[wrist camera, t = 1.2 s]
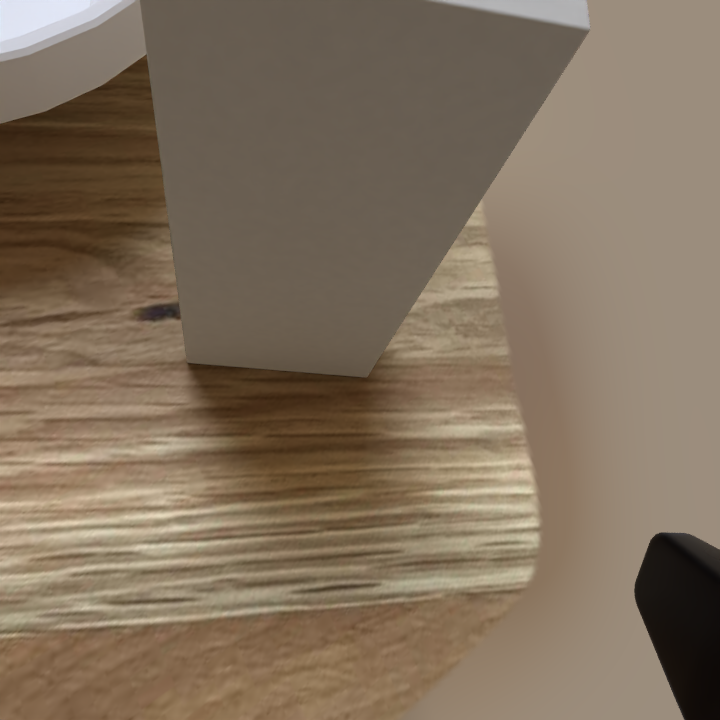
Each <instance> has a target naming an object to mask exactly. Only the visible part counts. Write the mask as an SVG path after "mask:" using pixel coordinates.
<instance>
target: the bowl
mask: <svg viewBox="0 0 720 720" xmlns="http://www.w3.org/2000/svg"><path fill="white" fill-rule="evenodd" d="M146 54H147V53H146V46H145V38H144V30H143V23H142V15H141V7H140V0H0V124H1V123H5V122H8V121H12V120H16V119H19V118H23V117H27V116H30V115H34V114H38V113H41V112H45V111H47V110H49V109H52V108H54V107H56V106H58V105H60V104H62V103H65V102H67V101H69V100H71V99H73V98H76V97H78V96H80V95H82V94H84V93H87V92H89V91H91V90H93V89H95V88H97V87H100V86H102V85H103V84H105V83H106V82H108V81H109V80H111V79H112V78H113V77H115V76H116V75H118V74H119V73H121V72H122V71H123V70H125V69H126V68H128V67H129V66H130V65H132V64H133V63H135V62H136V61H138V60H139V59H140V58H142V57H143V56H145V55H146Z"/></svg>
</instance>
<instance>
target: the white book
mask: <svg viewBox="0 0 720 720" xmlns="http://www.w3.org/2000/svg"><path fill="white" fill-rule="evenodd" d="M140 7H141V15H142V23H143V30H144V38H145V46H146V53H147V61H148V69H149V76H150V84H151V91H152V99H153V107H154V114H155V122H156V130H157V137H158V145H159V153H160V160H161V168H162V176H163V183H164V191H165V198H166V206H167V214H168V221H169V229H170V237H171V244H172V252H173V260H174V267H175V275H176V282H177V290H178V298H179V305H180V313H181V321H182V328H183V336H184V344H185V351H186V359H187V362H188V363H196V364H208V365H220V366H232V367H244V368H256V369H269V370H281V371H293V372H305V373H317V374H329V375H341V376H354V377H367V376H368V375H369V373H370V372H371V370H372V369H373V367H374V366H375V364H376V362H377V361H378V359H379V358H380V356H381V355H382V353H383V352H384V350H385V348H386V347H387V345H388V344H389V342H390V341H391V339H392V338H393V336H394V334H395V333H396V331H397V330H398V328H399V327H400V325H401V324H402V322H403V320H404V319H405V317H406V316H407V314H408V313H409V311H410V310H411V308H412V306H413V305H414V303H415V302H416V300H417V299H418V297H419V296H420V294H421V292H422V291H423V289H424V288H425V286H426V285H427V283H428V282H429V280H430V278H431V277H432V275H433V274H434V272H435V271H436V269H437V268H438V266H439V264H440V263H441V261H442V260H443V258H444V257H445V255H446V254H447V252H448V250H449V249H450V247H451V246H452V244H453V243H454V241H455V240H456V238H457V236H458V235H459V233H460V232H461V230H462V229H463V227H464V226H465V224H466V222H467V221H468V219H469V218H470V216H471V215H472V213H473V212H474V210H475V208H476V207H477V205H478V204H479V202H480V201H481V199H482V198H483V196H484V194H485V193H486V191H487V190H488V188H489V187H490V185H491V183H492V182H493V180H494V179H495V177H496V176H497V174H498V173H499V171H500V170H501V168H502V166H503V165H504V163H505V162H506V160H507V159H508V157H509V156H510V154H511V152H512V151H513V149H514V148H515V146H516V145H517V143H518V141H519V140H520V139H521V137H522V135H523V134H524V132H525V131H526V129H527V128H528V126H529V124H530V123H531V121H532V120H533V118H534V117H535V115H536V113H537V112H538V111H539V109H540V107H541V106H542V104H543V103H544V101H545V100H546V98H547V97H548V95H549V93H550V92H551V90H552V89H553V87H554V86H555V84H556V83H557V81H558V79H559V78H560V76H561V75H562V73H563V72H564V70H565V68H566V67H567V65H568V64H569V62H570V61H571V59H572V58H573V56H574V55H575V53H576V51H577V50H578V48H579V47H580V45H581V44H582V42H583V40H584V39H585V37H586V36H587V34H588V33H589V30H590V23H589V14H588V7H587V0H140Z"/></svg>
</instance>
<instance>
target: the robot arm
mask: <svg viewBox="0 0 720 720" xmlns="http://www.w3.org/2000/svg"><path fill="white" fill-rule="evenodd" d="M634 592H635V600H636V604H637V606H638V609H639V611H640V614H641V616H642V619H643V621H644V624H645V626H646V628H647V631H648V633H649V636H650V638H651V640H652V643H653V646H654V648H655V650H656V653H657V655H658V658H659V660H660V663H661V665H662V668H663V670H664V672H665V675H666V677H667V680H668V682H669V685H670V687H671V690H672V692H673V694H674V697H675V699H676V702H677V704H678V706H679V708H680V710H681V713H682V715H683V717H684V720H720V550H719V549H717V548H715V547H714V546H712V545H710V544H708V543H706V542H704V541H702V540H700V539H698V538H696V537H694V536H692V535H690V534H686V533H659V534H656V535H655V536H654V537H653V538H652V539H651V541H650V543H649V546H648V548H647V551H646V554H645V557H644V560H643V562H642V565H641V568H640V571H639V574H638V576H637V579H636V582H635V589H634Z"/></svg>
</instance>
